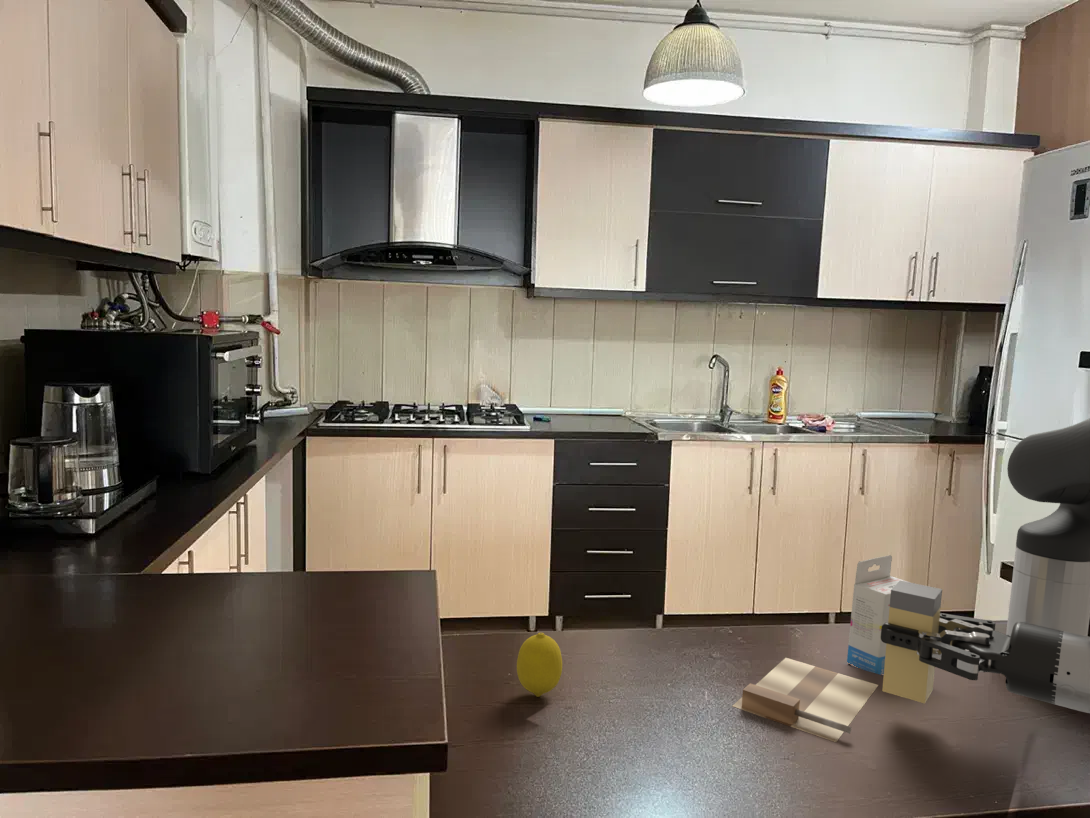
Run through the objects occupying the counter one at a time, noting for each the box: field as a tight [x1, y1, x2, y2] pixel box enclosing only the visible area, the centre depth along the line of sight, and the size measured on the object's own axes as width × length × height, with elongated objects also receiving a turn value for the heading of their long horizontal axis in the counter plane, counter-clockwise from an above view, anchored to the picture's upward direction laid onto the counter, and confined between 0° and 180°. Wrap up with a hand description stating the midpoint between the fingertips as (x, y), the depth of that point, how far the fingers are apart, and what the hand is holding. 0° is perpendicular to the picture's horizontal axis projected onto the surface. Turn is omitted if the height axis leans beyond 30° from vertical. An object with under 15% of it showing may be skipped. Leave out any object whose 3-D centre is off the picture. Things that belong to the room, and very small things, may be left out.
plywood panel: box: [731, 657, 879, 743], centre depth 94 cm, size 18×12×1 cm, turn 143°
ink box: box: [846, 554, 908, 676], centre depth 106 cm, size 8×5×15 cm, turn 123°
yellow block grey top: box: [881, 579, 943, 704], centre depth 88 cm, size 4×4×12 cm
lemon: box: [516, 632, 563, 698], centre depth 93 cm, size 6×6×8 cm
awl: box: [741, 682, 852, 734], centre depth 88 cm, size 2×12×2 cm, turn 53°
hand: (888, 625), depth 90 cm, fingers closed on yellow block grey top, 4 cm apart
